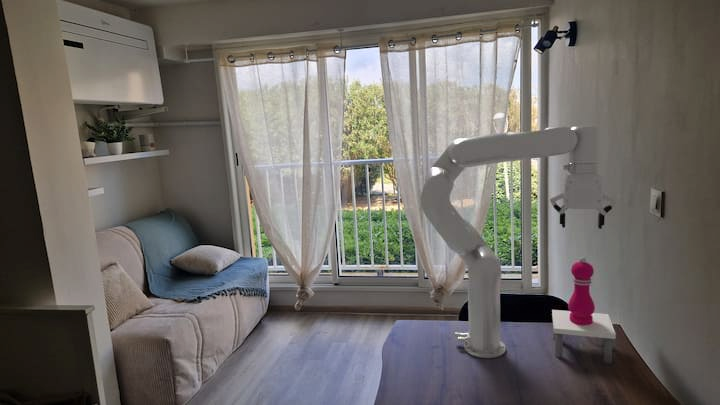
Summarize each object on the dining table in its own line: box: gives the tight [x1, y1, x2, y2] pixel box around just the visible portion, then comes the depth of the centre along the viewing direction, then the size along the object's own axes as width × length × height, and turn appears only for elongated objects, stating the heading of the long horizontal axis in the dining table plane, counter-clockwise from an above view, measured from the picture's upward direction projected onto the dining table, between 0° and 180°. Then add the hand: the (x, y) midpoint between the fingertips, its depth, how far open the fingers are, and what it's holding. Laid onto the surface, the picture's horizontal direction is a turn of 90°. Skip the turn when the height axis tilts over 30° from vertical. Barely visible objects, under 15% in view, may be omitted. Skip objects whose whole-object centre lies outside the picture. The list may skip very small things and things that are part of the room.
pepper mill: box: [567, 256, 596, 325], centre depth 137 cm, size 7×7×20 cm
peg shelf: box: [551, 309, 617, 365], centre depth 139 cm, size 16×14×10 cm
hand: (581, 227), depth 134 cm, fingers open, 9 cm apart
